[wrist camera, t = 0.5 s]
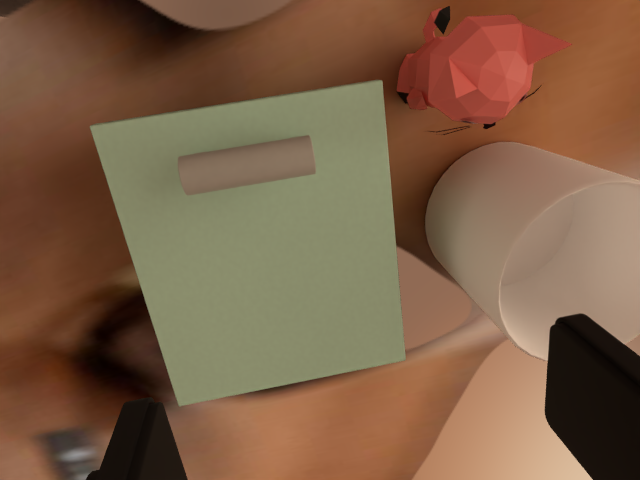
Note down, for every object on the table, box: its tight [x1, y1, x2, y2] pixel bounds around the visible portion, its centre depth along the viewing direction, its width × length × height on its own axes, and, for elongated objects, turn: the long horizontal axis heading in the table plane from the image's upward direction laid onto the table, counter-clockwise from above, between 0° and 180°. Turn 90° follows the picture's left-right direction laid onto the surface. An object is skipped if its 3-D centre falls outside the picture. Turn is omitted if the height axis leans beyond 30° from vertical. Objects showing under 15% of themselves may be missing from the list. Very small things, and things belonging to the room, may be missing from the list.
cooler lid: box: [90, 80, 406, 406], centre depth 26 cm, size 18×15×5 cm
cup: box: [425, 142, 640, 361], centre depth 33 cm, size 12×12×12 cm
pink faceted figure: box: [397, 6, 572, 135], centre depth 28 cm, size 7×7×12 cm
